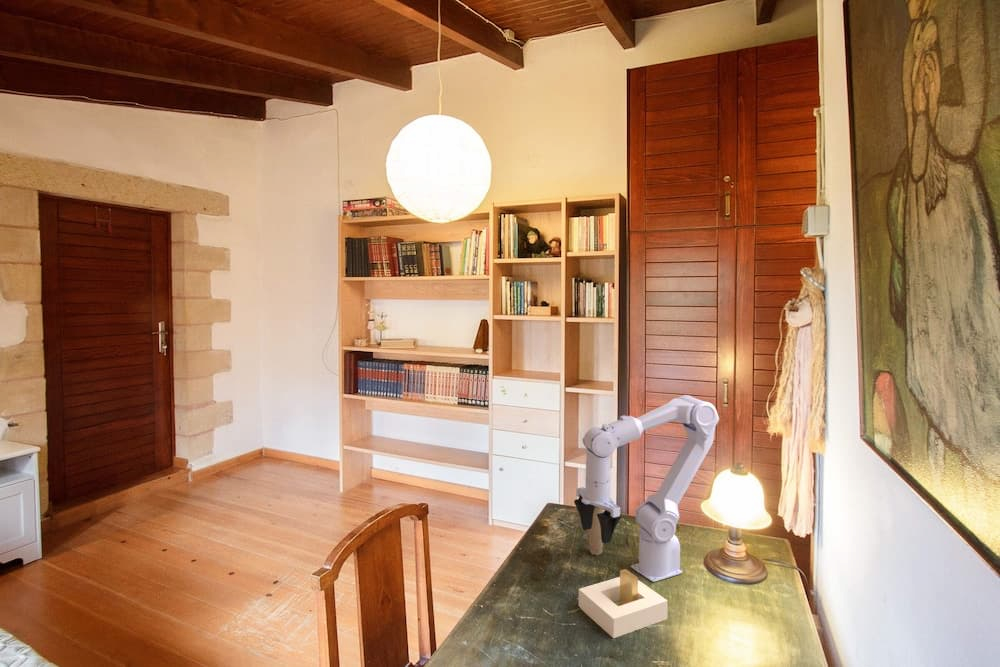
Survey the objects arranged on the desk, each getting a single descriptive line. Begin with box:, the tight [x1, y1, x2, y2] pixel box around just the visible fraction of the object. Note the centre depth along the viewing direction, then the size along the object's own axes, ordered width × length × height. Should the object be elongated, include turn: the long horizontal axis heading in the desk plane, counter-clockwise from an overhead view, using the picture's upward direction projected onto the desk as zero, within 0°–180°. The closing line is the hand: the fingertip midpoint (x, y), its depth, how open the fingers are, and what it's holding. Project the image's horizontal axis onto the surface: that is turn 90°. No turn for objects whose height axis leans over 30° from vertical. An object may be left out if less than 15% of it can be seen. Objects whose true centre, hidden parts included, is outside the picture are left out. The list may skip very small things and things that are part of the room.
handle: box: [588, 506, 604, 556], centre depth 140 cm, size 5×6×15 cm
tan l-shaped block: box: [615, 568, 639, 606], centre depth 113 cm, size 5×4×8 cm
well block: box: [578, 576, 669, 639], centre depth 114 cm, size 14×12×4 cm
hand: (596, 535), depth 127 cm, fingers open, 7 cm apart
